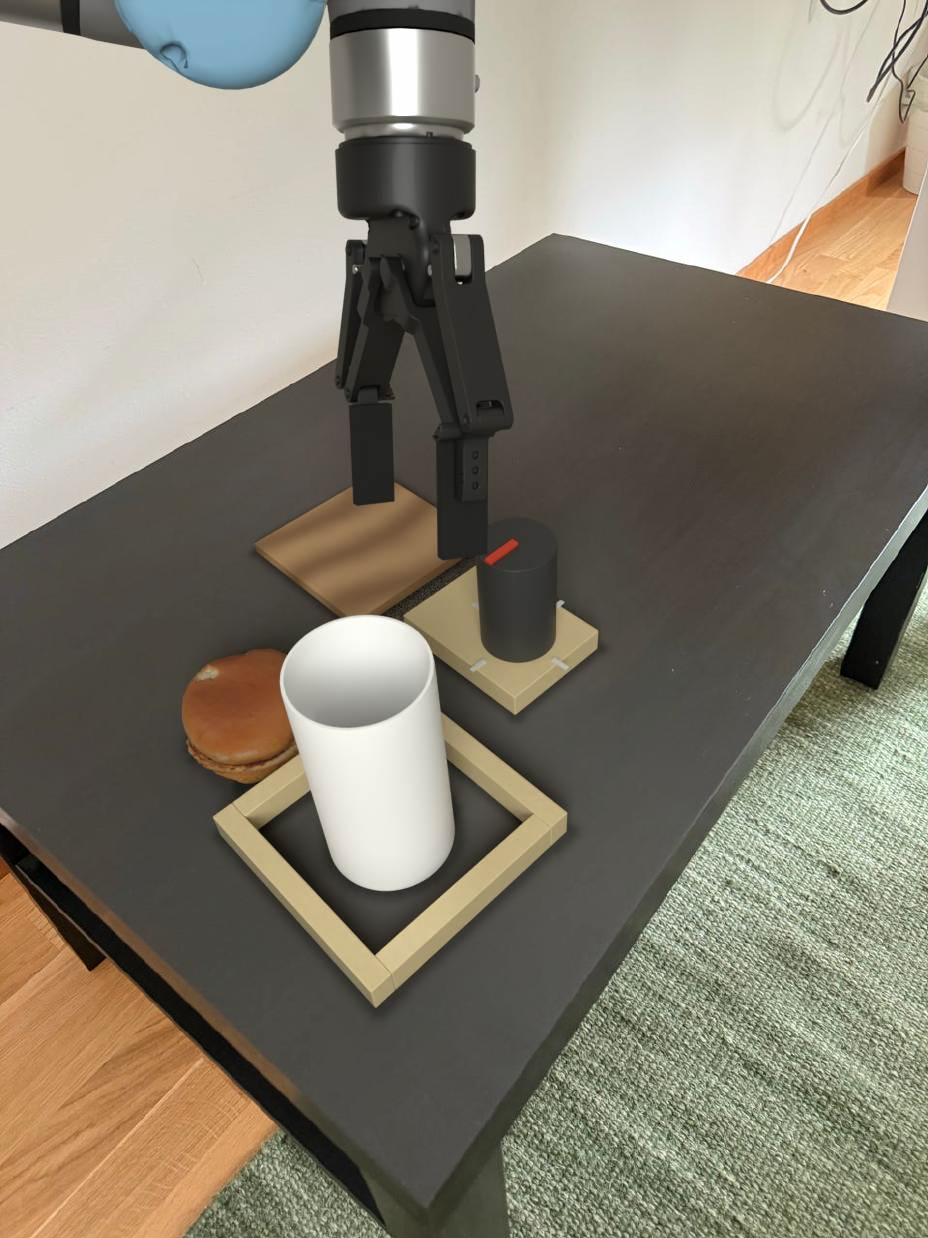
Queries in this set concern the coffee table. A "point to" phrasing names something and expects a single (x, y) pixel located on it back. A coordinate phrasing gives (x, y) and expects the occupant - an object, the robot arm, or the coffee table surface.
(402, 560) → the trivet
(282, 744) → the burger
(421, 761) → the cup
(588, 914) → the coffee table surface
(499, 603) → the burner knob
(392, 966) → the square frame
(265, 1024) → the coffee table surface
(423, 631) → the panel
